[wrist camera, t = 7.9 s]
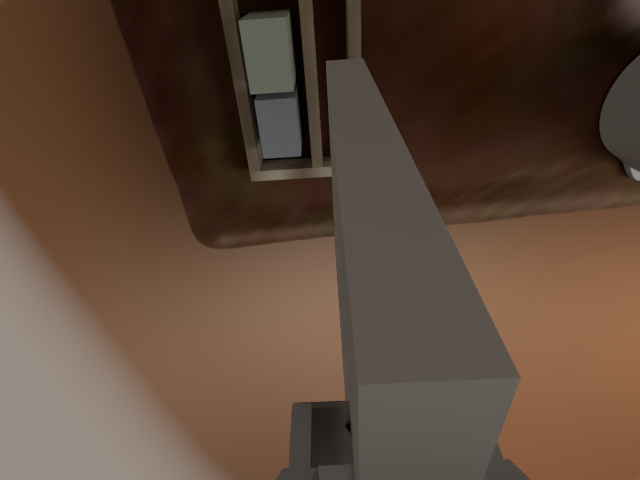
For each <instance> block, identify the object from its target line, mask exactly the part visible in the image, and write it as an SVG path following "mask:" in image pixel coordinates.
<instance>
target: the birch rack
mask: <svg viewBox="0 0 640 480" xmlns="http://www.w3.org/2000/svg"><path fill="white" fill-rule="evenodd" d="M218 2H219V7H220V12H221V18H222V23H223V29H224V34H225V40H226V45H227V51H228V56H229V62H230V67H231V72H232V78H233V83H234V89H235V94H236V100H237V105H238V111H239V116H240V122H241V127H242V133H243V138H244V143H245V149H246V154H247V160H248V165H249V171H250V176H251V182H252V181H267V180H283V179H298V178H314V177H329V176H332V172H331V156H326V157H323V154H322V139H321V124H320V109H319V94H318V79H317V63H316V48H315V33H314V18H313V3H312V0H299V11H300V23H301V35H302V47H303V59H304V71H305V83H306V95H307V107H308V119H309V131H310V143H311V155H312V157H311V158H295V159H280V160H265V161H263V157H262V151H261V145H260V139H259V132H258V126H257V120H256V113H255V107H254V101H253V95H252V94H251V95H250V90H249V83H248V77H247V71H246V65H245V59H244V53H243V46H242V40H241V34H240V28H239V22H238V21H239V20H240V13H239V7H238V0H218ZM346 40H347V59H359V58H361V0H346Z"/></svg>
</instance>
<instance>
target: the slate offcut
mask: <svg viewBox="0 0 640 480" xmlns="http://www.w3.org/2000/svg"><path fill="white" fill-rule="evenodd" d="M254 103H255V109H256V115H257V122H258V128H259V135H260V141H261V147H262V154H263V159H267V158H282V157H298V156H301V150H302V127H301V117H300V106H299V95H298V84H295V86H294V91H293V92H279V93H265V94H257V96H256V98H255V100H254Z"/></svg>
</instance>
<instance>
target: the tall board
mask: <svg viewBox="0 0 640 480" xmlns="http://www.w3.org/2000/svg"><path fill="white" fill-rule="evenodd" d="M326 75H327V94H328V114H329V133H330V153H331V172H332V191H333V211H334V230H335V248H336V266H337V280H338V296H339V310H340V325H341V341H342V355H343V370H344V383H345V398H346V399H345V400H346V401H349V407H350V424H351V435H352V447H353V460H354V480H483V478H484V475H485V473H486V470H487V467H488V465H489V462H490V459H491V456H492V454H493V451H494V448H495V446H496V443H497V440H498V437H499V435H500V432H501V429H502V427H503V424H504V421H505V418H506V416H507V413H508V410H509V408H510V405H511V402H512V399H513V397H514V394H515V391H516V389H517V386H518V383H519V380H520V375H519V373H518V371H517V369H516V367H515V365H514V363H513V362H512V360H511V357H510V355H509V353H508V351H507V349H506V347H505V345H504V343H503V341H502V339H501V337H500V335H499V333H498V331H497V329H496V327H495V325H494V323H493V321H492V319H491V317H490V315H489V313H488V311H487V309H486V307H485V305H484V303H483V301H482V299H481V297H480V294H479V292H478V290H477V288H476V286H475V284H474V282H473V280H472V278H471V276H470V274H469V272H468V270H467V268H466V266H465V264H464V262H463V260H462V258H461V256H460V254H459V252H458V250H457V248H456V246H455V244H454V242H453V240H452V238H451V236H450V234H449V232H448V230H447V228H446V226H445V224H444V222H443V219H442V217H441V215H440V213H439V211H438V209H437V207H436V205H435V203H434V201H433V199H432V197H431V195H430V193H429V191H428V189H427V187H426V185H425V183H424V181H423V179H422V177H421V175H420V173H419V171H418V169H417V167H416V165H415V163H414V161H413V159H412V157H411V155H410V153H409V151H408V149H407V147H406V145H405V143H404V140H403V138H402V136H401V134H400V132H399V130H398V128H397V126H396V124H395V122H394V120H393V118H392V116H391V114H390V112H389V110H388V108H387V106H386V104H385V102H384V100H383V98H382V96H381V94H380V92H379V90H378V88H377V86H376V84H375V82H374V80H373V78H372V76H371V74H370V72H369V70H368V68H367V66H366V64H365V61H364V59H363V58H359V59H344V60H330V61H326Z"/></svg>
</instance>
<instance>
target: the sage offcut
mask: <svg viewBox="0 0 640 480" xmlns="http://www.w3.org/2000/svg"><path fill="white" fill-rule="evenodd" d="M238 22H239V28H240V34H241V40H242V46H243V53H244V59H245V65H246V71H247V77H248V83H249V90H250V95H251V94H265V93H279V92H293V91H294V86H295V80H296V64H295V53H294V43H293V32H292V21H291V11H290V9H286V10H273V11H260V12H249V13H248V14H247V15H245V16H244V17H243V18H241V19H240V20H239V21H238Z"/></svg>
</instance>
